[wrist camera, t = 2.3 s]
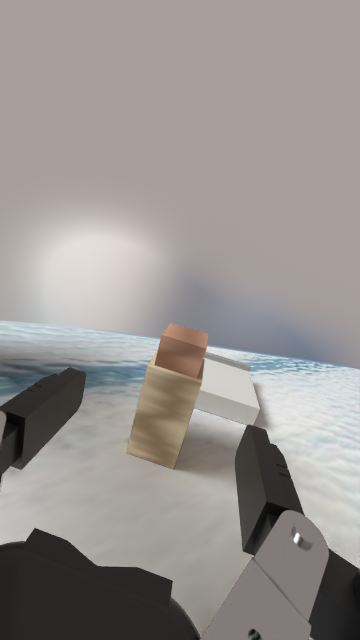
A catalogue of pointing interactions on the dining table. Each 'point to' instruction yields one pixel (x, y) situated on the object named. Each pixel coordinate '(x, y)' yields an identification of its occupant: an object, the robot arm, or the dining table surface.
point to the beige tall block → (168, 396)
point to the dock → (227, 390)
